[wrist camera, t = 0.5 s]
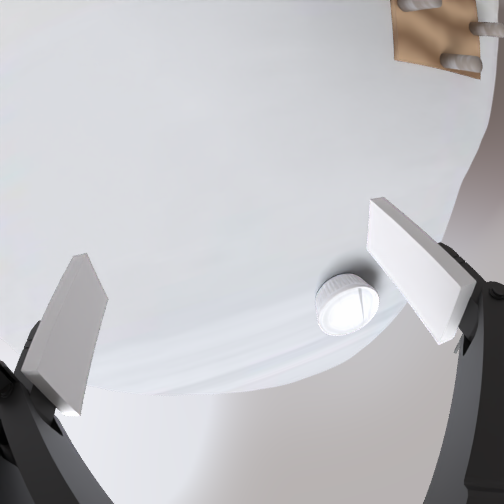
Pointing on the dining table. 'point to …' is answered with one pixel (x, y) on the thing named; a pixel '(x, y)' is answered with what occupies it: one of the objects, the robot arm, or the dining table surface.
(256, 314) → the dining table surface
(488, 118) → the dining table surface
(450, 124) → the dining table surface
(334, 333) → the ramekin
